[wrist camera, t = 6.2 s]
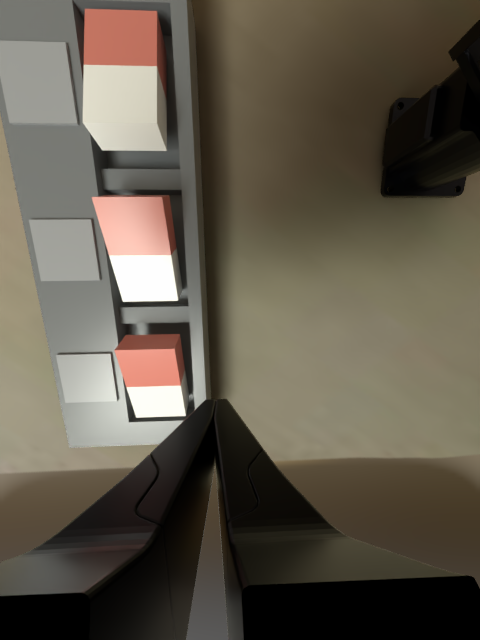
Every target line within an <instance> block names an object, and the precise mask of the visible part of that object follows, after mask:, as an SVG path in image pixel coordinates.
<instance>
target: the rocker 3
mask: <svg viewBox="0 0 480 640" xmlns="http://www.w3.org/2000/svg"><path fill="white" fill-rule="evenodd" d="M114 351H115V354H116V357H117V360H118V363H119V366H120V369H121V372H122V375H123V378H124V382H125V385H126V388H127V391H128V394H129V397H130V400H131V403H132V406H133V409H134V412H135V415H136V418H141V417H170V416H186V412H187V407H188V402H189V392H188V385H187V379H186V372H185V365H184V358H183V352H182V345H181V338H180V334H155V335H125V337H124V338H123V339H122V341H121V342H120V343H119V345H118V346H117V347H116V349H115V350H114Z"/></svg>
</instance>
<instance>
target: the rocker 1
mask: <svg viewBox="0 0 480 640" xmlns="http://www.w3.org/2000/svg"><path fill="white" fill-rule="evenodd" d="M83 124H84V125H85V127H86V128H87V129H88V131H89V132H90V134H91V135H92V136H93V138H94V139H95V141H96V142H97V144H98V145H99V146H100V148H101V149H102V150H113V151H167V52H166V48H165V43H164V39H163V35H162V31H161V26H160V22H159V18H158V13H157V11H143V10H111V9H85V24H84V75H83Z"/></svg>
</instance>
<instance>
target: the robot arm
mask: <svg viewBox="0 0 480 640" xmlns="http://www.w3.org/2000/svg"><path fill="white" fill-rule="evenodd" d="M448 53H449V54H450V56H451V58H452V60H453V61H454V60H455V59H456V61H457V63H458V65H459V68H458V69H456V70H455V71H454V72H453V73H452V74H451V75H450V76H449V77H447V78H446V79H445V80H444V81H443V82H442V83H441V84H439V85H435V86H433V87H432V88H431V89H430V90H429V91H428V92H426V93H425V94H424V95H423V96H422V97H421V98H399V99H397V100H396V101H395V102H394V103H393V104H392V106H391V108H390V115H389V124H388V128H387V130H386V139H385V147H384V156H383V176H382V185H381V194H382V196H383V197H456V196H459V195H460V194H462V192H463V190H464V186H465V181H466V176H468V175H471V174H473V173H476V172H478V171H480V20H479V21H478V22H477V23H476V24H475V25H474V26H473V27H472V28H471V29H470V30H469V31H468V32H467V33H466V34H465V35H464V36H463V37H462V38H461V39H460V40H459V41H458V42H457V43H456V44H455V45H454V47H453V48H452V49H451V50H450V51H449V52H448ZM397 106H399V107H400V110H398V108H397ZM388 187H389V188H390V192H388V191H387V188H388ZM455 188H456V192H455ZM215 463H216V479H217V493H218V506H219V519H220V533H221V545H222V559H223V572H224V586H225V600H226V613H227V626H228V640H480V588H479V586H478V584H477V582H476V581H475V579H474V578H473V577H472V576H467V575H462V574H458V573H454V572H450V571H446V570H443V569H439V568H436V567H433V566H430V565H427V564H425V563H422V562H419V561H416V560H413V559H410V558H407V557H404V556H402V555H399V554H396V553H393V552H390V551H387V550H384V549H382V548H379V547H376V546H373V545H370V544H367V543H364V542H361V541H358V540H356V539H353V538H351V537H348V536H346V535H345V534H343V533H342V532H340V531H339V530H337V529H336V528H335V527H334V526H332V525H331V524H330V523H329V522H328V521H327V520H326V519H325V518H324V517H323V516H322V515H321V514H320V513H319V512H318V511H317V510H316V508H314V507H313V505H312V504H311V503H310V502H309V501H308V500H307V499H306V498H305V497H304V496H303V495H302V494H301V493H300V492H299V491H298V490H297V489H296V487H295V486H293V484H292V483H291V482H290V481H289V480H288V479H287V478H286V477H285V476H284V474H282V472H281V471H280V470H279V469H278V468H277V466H276V465H275V464H274V462H273V461H272V460H271V459H270V457H269V456H268V454H267V453H266V452H265V450H264V449H263V448H262V446H261V445H260V444H259V442H258V441H257V439H256V438H255V437H254V435H253V434H252V433H251V431H250V430H249V428H248V427H247V426H246V424H245V423H244V422H243V420H242V419H241V417H240V416H239V415H238V413H237V412H236V411H235V409H234V408H233V406H232V405H231V404H230V402H229V401H228V400H227V399H217V400H215V399H207V400H204V401H203V402H202V403H201V404H200V405H199V406H198V407H197V408H196V409H195V410H194V411H193V412H192V413H191V414H190V415H189V416H188V417H187V418H186V419H185V420H184V421H183V422H182V423H181V424H180V425H179V426H178V427H177V428H176V429H175V430H174V431H173V432H172V433H171V434H170V435H169V436H168V437H167V438H166V439H164V440H163V441H162V442H161V443H160V444H159V445H158V446H157V447H156V448H155V449H154V450H153V451H152V452H151V453H150V455H148V456H147V457H146V458H145V459H144V460H143V461H142V462H141V463H140V464H139V465H138V466H136V467H135V468H134V469H133V470H132V471H131V472H130V473H129V474H128V475H127V476H126V477H124V478H123V479H122V480H121V481H120V482H119V483H118V484H116V485H115V486H114V487H113V488H112V489H110V490H109V491H108V492H107V493H106V494H104V495H103V496H102V497H101V498H100V499H98V500H97V501H96V502H95V503H93V504H92V505H91V506H90V507H89V508H87V509H86V510H85V511H84V512H83V513H81V514H80V515H79V516H78V517H76V518H75V519H74V520H73V521H72V522H70V523H69V524H68V525H67V526H65V527H64V528H63V529H62V530H61V531H59V532H58V533H57V534H55V535H54V536H53V537H51V538H50V539H49V540H47V541H46V542H44V543H43V544H41V545H40V546H38V547H36V548H34V549H33V550H31V551H29V552H27V553H24V554H22V555H20V556H17V557H15V558H12V559H9V560H6V561H3V562H0V640H186V636H187V630H188V624H189V617H190V612H191V606H192V600H193V593H194V587H195V581H196V576H197V570H198V564H199V558H200V552H201V546H202V540H203V534H204V528H205V521H206V516H207V510H208V503H209V498H210V492H211V486H212V480H213V474H214V466H215Z"/></svg>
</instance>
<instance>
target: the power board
mask: <svg viewBox="0 0 480 640" xmlns="http://www.w3.org/2000/svg"><path fill="white" fill-rule="evenodd" d="M85 9H111V10H143V11H157V13H158V18H159V22H160V26H161V31H162V35H163V39H164V43H165V48H166V52H167V151H113V150H102V149H101V148H100V146H99V145H98V144H97V142H96V141H95V139H94V138H93V136H92V135H91V134H90V132H89V131H88V129H87V128H86V127H85V125H84V124H83V75H84V24H85ZM0 113H1V118H2V123H3V128H4V133H5V138H6V143H7V147H8V152H9V157H10V162H11V167H12V172H13V177H14V181H15V186H16V191H17V196H18V201H19V206H20V211H21V215H22V220H23V225H24V230H25V235H26V240H27V244H28V249H29V254H30V259H31V264H32V269H33V274H34V278H35V283H36V288H37V293H38V298H39V303H40V308H41V312H42V317H43V322H44V327H45V332H46V337H47V342H48V346H49V351H50V356H51V361H52V366H53V371H54V376H55V380H56V385H57V390H58V395H59V400H60V405H61V410H62V414H63V419H64V424H65V429H66V434H67V439H68V444H69V448H75V447H100V446H126V445H152V444H160V443H161V442H162V441H163V440H164V439H166V438H167V437H168V436H169V435H170V434H171V433H172V432H173V431H174V430H175V429H176V428H177V427H178V426H179V425H180V424H181V423H182V422H183V421H184V420H185V419H186V418H187V417H188V416H189V415H190V414H191V413H192V412H193V411H194V410H195V409H196V408H197V407H198V406H199V405H200V404H201V403H202V402H203V401H204V400H207V399H211V383H210V359H209V336H208V312H207V289H206V265H205V242H204V219H203V195H202V172H201V148H200V125H199V101H198V78H197V54H196V31H195V21H194V15H193V8H192V1H191V0H0ZM103 195H169V197H170V204H171V211H172V218H173V225H174V232H175V239H176V246H177V254H178V261H179V268H180V275H181V282H182V289H183V291H182V293H181V295H180V298H179V300H178V301H137V302H123V300H122V297H121V294H120V290H119V287H118V284H117V280H116V277H115V274H114V270H113V267H112V264H111V260H110V257H109V254H108V250H107V247H106V244H105V240H104V237H103V234H102V230H101V227H100V224H99V220H98V217H97V214H96V210H95V207H94V204H93V200H92V197H95V196H103ZM155 334H180V338H181V345H182V352H183V358H184V365H185V372H186V379H187V385H188V392H189V402H188V407H187V412H186V416H170V417H141V418H136V415H135V412H134V409H133V406H132V403H131V400H130V397H129V394H128V391H127V388H126V385H125V382H124V378H123V375H122V372H121V369H120V366H119V363H118V360H117V357H116V354H115V351H114V350H115V349H116V347H117V346H118V345H119V343H120V342H121V341H122V339H123V338H124V337H125V335H155Z"/></svg>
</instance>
